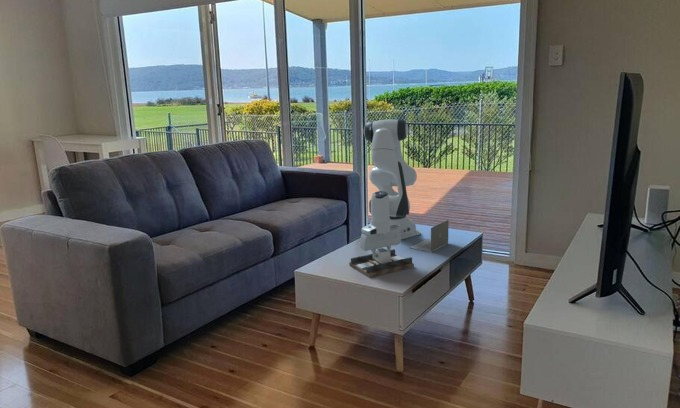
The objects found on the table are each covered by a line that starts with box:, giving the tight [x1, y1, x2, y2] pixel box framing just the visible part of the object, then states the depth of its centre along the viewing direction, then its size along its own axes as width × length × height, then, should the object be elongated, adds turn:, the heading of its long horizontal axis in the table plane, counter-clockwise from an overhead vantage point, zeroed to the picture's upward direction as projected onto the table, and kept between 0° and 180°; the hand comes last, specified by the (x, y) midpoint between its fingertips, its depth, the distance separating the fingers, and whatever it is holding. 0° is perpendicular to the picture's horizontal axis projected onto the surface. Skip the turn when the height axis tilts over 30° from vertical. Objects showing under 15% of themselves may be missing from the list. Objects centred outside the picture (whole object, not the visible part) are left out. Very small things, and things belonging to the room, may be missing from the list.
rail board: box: [348, 248, 415, 278], centre depth 231 cm, size 24×18×4 cm
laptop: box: [410, 219, 450, 253], centre depth 257 cm, size 18×12×13 cm
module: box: [371, 247, 391, 264], centre depth 230 cm, size 4×9×5 cm, turn 24°
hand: (381, 256), depth 231 cm, fingers closed on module, 5 cm apart
